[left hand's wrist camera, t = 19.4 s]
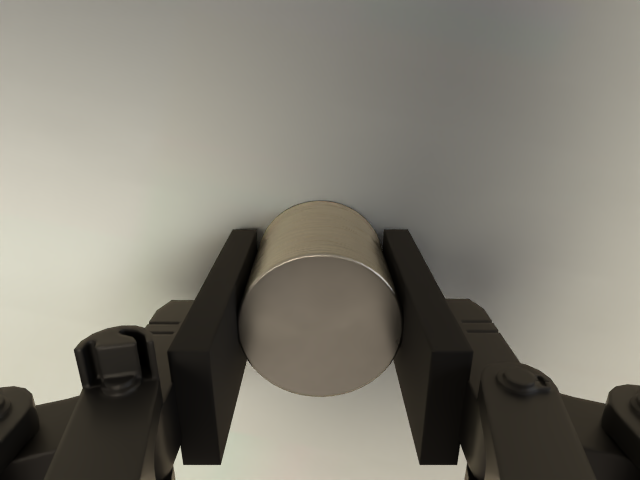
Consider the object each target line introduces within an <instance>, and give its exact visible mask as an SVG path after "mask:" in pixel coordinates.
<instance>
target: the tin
mask: <svg viewBox="0 0 640 480" xmlns="http://www.w3.org/2000/svg"><path fill="white" fill-rule="evenodd" d="M403 319H404V318H403V312H402V308H401V305H400V302H399V299H398V296H397V293H396V290H395V287H394V284H393V281H392V278H391V275H390V272H389V269H388V266H387V263H386V260H385V257H384V254H383V251H382V248H381V245H380V242H379V239H378V236H377V234H376V233H375V231H374V229H373V228H372V226H371V225H370V223H369V222H368V221H367V220H366V219H365V218H364V217H363V216H361V215H360V214H359V213H358V212H356V211H354V210H353V209H351V208H349V207H347V206H344V205H341V204H338V203H334V202H328V201H313V202H306V203H302V204H299V205H296V206H293V207H292V208H290V209H288V210H286V211H284V212H283V213H281V214H280V215H279V216H278V217H277V218H276V219H274V220H273V222H272V223H271V224H270V225H269V226H268V228H267V230H266V231H265V233H264V235H263V237H262V239H261V242H260V245H259V248H258V251H257V254H256V257H255V261H254V264H253V267H252V270H251V273H250V276H249V279H248V282H247V285H246V288H245V291H244V294H243V297H242V300H241V303H240V306H239V310H238V315H237V330H238V339H239V342H240V345H241V348H242V351H243V353H244V354H245V356H246V358H247V360H248V361H249V363H250V364H251V365H252V367H253V368H254V369H255V370H256V371H257V372H258V373H259V374H260V375H261V376H262V377H264V378H265V379H266V380H268V381H269V382H271V383H272V384H274V385H276V386H278V387H280V388H282V389H284V390H286V391H289V392H292V393H296V394H300V395H305V396H314V397H326V396H335V395H341V394H345V393H348V392H352V391H354V390H356V389H359V388H361V387H363V386H365V385H367V384H368V383H370V382H371V381H373V380H374V379H376V378H377V377H378V376H379V375H380V374H381V373H383V372H384V371H385V370H386V368H387V367H388V366H389V365H390V364H391V362H392V360H393V359H394V357H395V356H396V354H397V351H398V349H399V347H400V344H401V341H402V335H403Z"/></svg>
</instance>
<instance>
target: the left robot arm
mask: <svg viewBox="0 0 640 480" xmlns="http://www.w3.org/2000/svg"><path fill="white" fill-rule="evenodd" d="M257 251H258V248H257V230H232V232H231V234H230V235H229V237H228V239H227V241H226V243H225V245H224V247H223V248H222V250H221V252H220V254H219V256H218V258H217V260H216V261H215V263H214V265H213V267H212V269H211V271H210V273H209V274H208V276H207V278H206V280H205V282H204V284H203V286H202V287H201V289H200V291H199V293H198V295H197V297H196V299H195V300H171V301H170V302H169V303H167V304H166V305H164V306H163V307H161V308H160V309H158V310H157V311H156V313H155V314H154V316H153V317H152V319H151V320H150V322H149V324H148V325H147V326H146V328H143V327H139V326H117V327H112V328H107V329H104V330H102V331H99V332H96V333H94V334H92V335H90V336H89V337H87V338H86V339H84V340H82V341H81V342H80V343H79V344H78V345H77V347H76V348H75V349H74V353H75V357H76V361H77V365H78V370H79V374H80V378H81V383H82V387H83V389H82V392H81V394H80V396H76V397H73V398H69V399H65V400H60V401H55V402H51V403H46V404H41V405H36V406H35V403H34V399H33V396H32V394H31V393H30V392H29V391H28V390H27V389H26V388H20V387H15V386H12V387H1V388H0V480H175V474H174V467H173V464H174V461H175V459H176V456H177V453H178V450H179V448H180V445H181V452H182V459H183V465H221V462H222V458H223V454H224V450H225V446H226V442H227V438H228V434H229V430H230V426H231V422H232V418H233V414H234V410H235V406H236V402H237V398H238V394H239V390H240V386H241V382H242V377H243V373H244V369H245V365H246V361H247V358H246V356H245V354H244V353H243V351H242V348H241V345H240V342H239V339H238V330H237V315H238V310H239V306H240V303H241V300H242V297H243V294H244V291H245V288H246V285H247V282H248V279H249V276H250V273H251V270H252V267H253V264H254V261H255V257H256V254H257ZM383 254H384V257H385V260H386V263H387V266H388V269H389V272H390V275H391V278H392V281H393V284H394V287H395V290H396V293H397V296H398V299H399V302H400V305H401V308H402V312H403V318H404V319H403V335H402V341H401V344H400V347H399V349H398V351H397V354H396V356H395V357H394V359H393V360H394V364H395V368H396V372H397V376H398V380H399V384H400V388H401V392H402V396H403V400H404V404H405V408H406V412H407V416H408V420H409V424H410V428H411V432H412V436H413V440H414V444H415V448H416V452H417V456H418V460H419V464H420V465H457V462H458V455H459V448H460V444H461V447H462V450H463V452H464V455H465V458H466V460H467V467H466V474H465V480H640V386H639V385H629V384H627V385H621V386H616V387H615V388H613V389H612V390H611V391H610V392H609V394H608V398H607V401H606V404H604V403H599V402H594V401H590V400H585V399H580V398H575V397H571V396H568V395H564V394H561V393H559V391H558V388H557V387H556V385H555V384H554V383H553V381H552V380H551V379H550V378H549V377H548V376H546V375H545V374H544V373H542V372H541V371H539V370H537V369H535V368H533V367H530V366H528V365H526V364H521V363H520V362H519V360H518V359H517V357H516V356H515V354H514V353H513V352H512V350H511V349H510V347H509V346H508V344H507V343H506V341H505V340H504V338H503V337H502V335H501V334H500V333H498V329H497V328H496V326H495V325H494V323H492V320H491V319H490V318H489V316H488V315H487V313H486V312H485V310H484V309H483V308H482V307H480V306H479V305H477V304H476V303H474V302H473V301H471V300H470V299H445V298H444V296H443V294H442V292H441V290H440V288H439V287H438V285H437V283H436V281H435V279H434V277H433V275H432V274H431V272H430V270H429V268H428V266H427V264H426V262H425V261H424V259H423V257H422V255H421V253H420V251H419V249H418V248H417V246H416V244H415V242H414V240H413V238H412V237H411V235H410V233H409V231H408V230H384V238H383Z"/></svg>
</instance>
